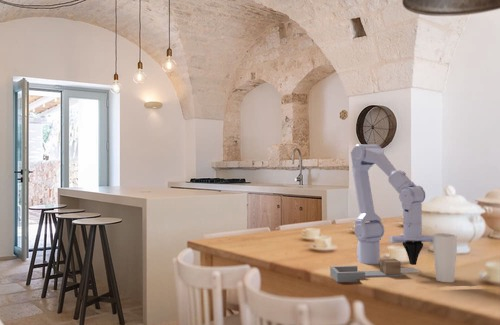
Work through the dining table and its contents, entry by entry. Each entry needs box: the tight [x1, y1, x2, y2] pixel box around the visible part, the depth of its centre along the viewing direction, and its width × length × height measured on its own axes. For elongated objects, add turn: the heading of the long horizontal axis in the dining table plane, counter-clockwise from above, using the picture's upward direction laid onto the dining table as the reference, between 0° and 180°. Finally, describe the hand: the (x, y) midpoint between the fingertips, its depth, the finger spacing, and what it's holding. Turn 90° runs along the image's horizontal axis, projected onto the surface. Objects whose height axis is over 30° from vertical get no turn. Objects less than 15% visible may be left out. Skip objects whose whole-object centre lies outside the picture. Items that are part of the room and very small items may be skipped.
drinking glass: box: [432, 232, 458, 283], centre depth 147 cm, size 7×7×15 cm
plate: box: [401, 266, 421, 274], centre depth 161 cm, size 7×7×1 cm
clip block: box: [379, 258, 402, 275], centre depth 155 cm, size 5×5×4 cm
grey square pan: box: [329, 265, 404, 283], centre depth 155 cm, size 9×22×3 cm, turn 95°
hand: (412, 264), depth 156 cm, fingers closed
